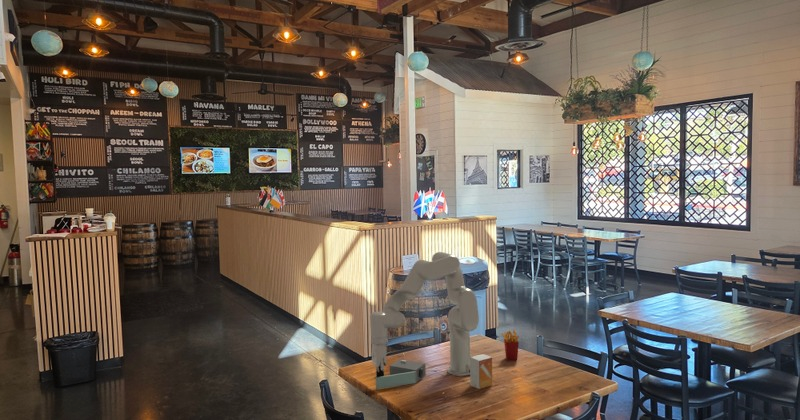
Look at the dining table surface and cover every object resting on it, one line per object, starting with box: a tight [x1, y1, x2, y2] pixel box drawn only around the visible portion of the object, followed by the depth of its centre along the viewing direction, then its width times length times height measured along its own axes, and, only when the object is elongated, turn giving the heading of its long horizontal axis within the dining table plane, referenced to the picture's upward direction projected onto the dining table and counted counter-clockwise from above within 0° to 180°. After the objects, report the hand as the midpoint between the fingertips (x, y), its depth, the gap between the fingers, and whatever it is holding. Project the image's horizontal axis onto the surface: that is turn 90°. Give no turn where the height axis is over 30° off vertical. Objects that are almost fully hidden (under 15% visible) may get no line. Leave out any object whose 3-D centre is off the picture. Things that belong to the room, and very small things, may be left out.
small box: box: [469, 353, 493, 390], centre depth 236 cm, size 8×6×13 cm
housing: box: [389, 358, 427, 384], centre depth 248 cm, size 15×10×7 cm, turn 61°
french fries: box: [501, 329, 520, 362], centre depth 271 cm, size 9×8×15 cm
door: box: [375, 371, 417, 390], centre depth 237 cm, size 20×1×5 cm, turn 110°
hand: (380, 379), depth 237 cm, fingers closed
